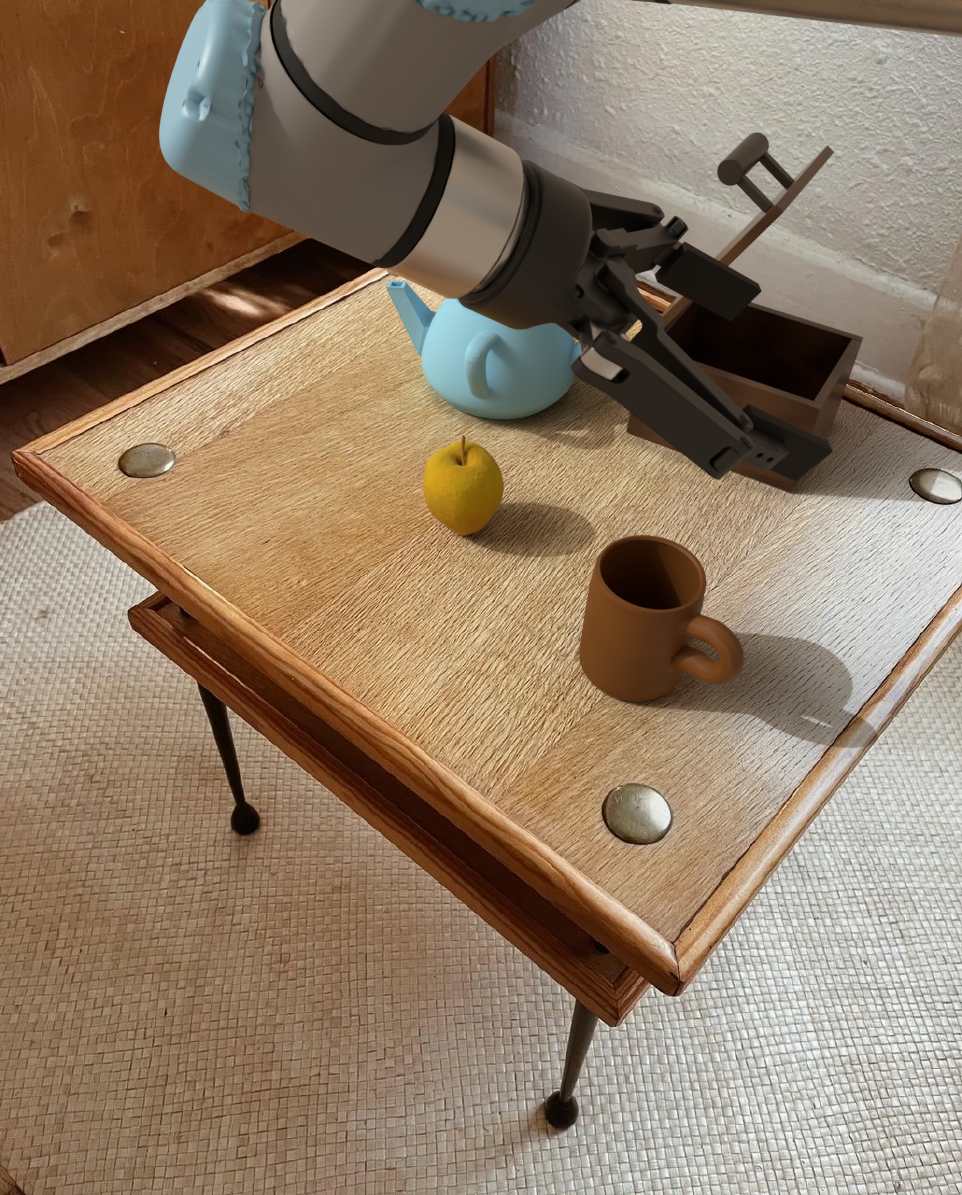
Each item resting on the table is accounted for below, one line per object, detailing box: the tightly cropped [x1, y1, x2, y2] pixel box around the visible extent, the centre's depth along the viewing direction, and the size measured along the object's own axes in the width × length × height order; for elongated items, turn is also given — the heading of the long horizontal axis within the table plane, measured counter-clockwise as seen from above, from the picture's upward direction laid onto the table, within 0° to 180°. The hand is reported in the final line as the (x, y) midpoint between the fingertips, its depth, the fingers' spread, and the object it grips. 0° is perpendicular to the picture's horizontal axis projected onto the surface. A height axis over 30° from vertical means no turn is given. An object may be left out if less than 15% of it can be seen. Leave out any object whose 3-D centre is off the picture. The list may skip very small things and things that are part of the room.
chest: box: [625, 301, 864, 494], centre depth 91 cm, size 16×13×9 cm
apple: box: [422, 434, 505, 536], centre depth 81 cm, size 6×6×8 cm
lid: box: [660, 131, 835, 328], centre depth 83 cm, size 16×13×6 cm
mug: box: [578, 534, 745, 703], centre depth 69 cm, size 12×8×9 cm, turn 41°
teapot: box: [386, 279, 582, 420], centre depth 93 cm, size 15×17×11 cm
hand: (776, 377), depth 61 cm, fingers open, 13 cm apart
